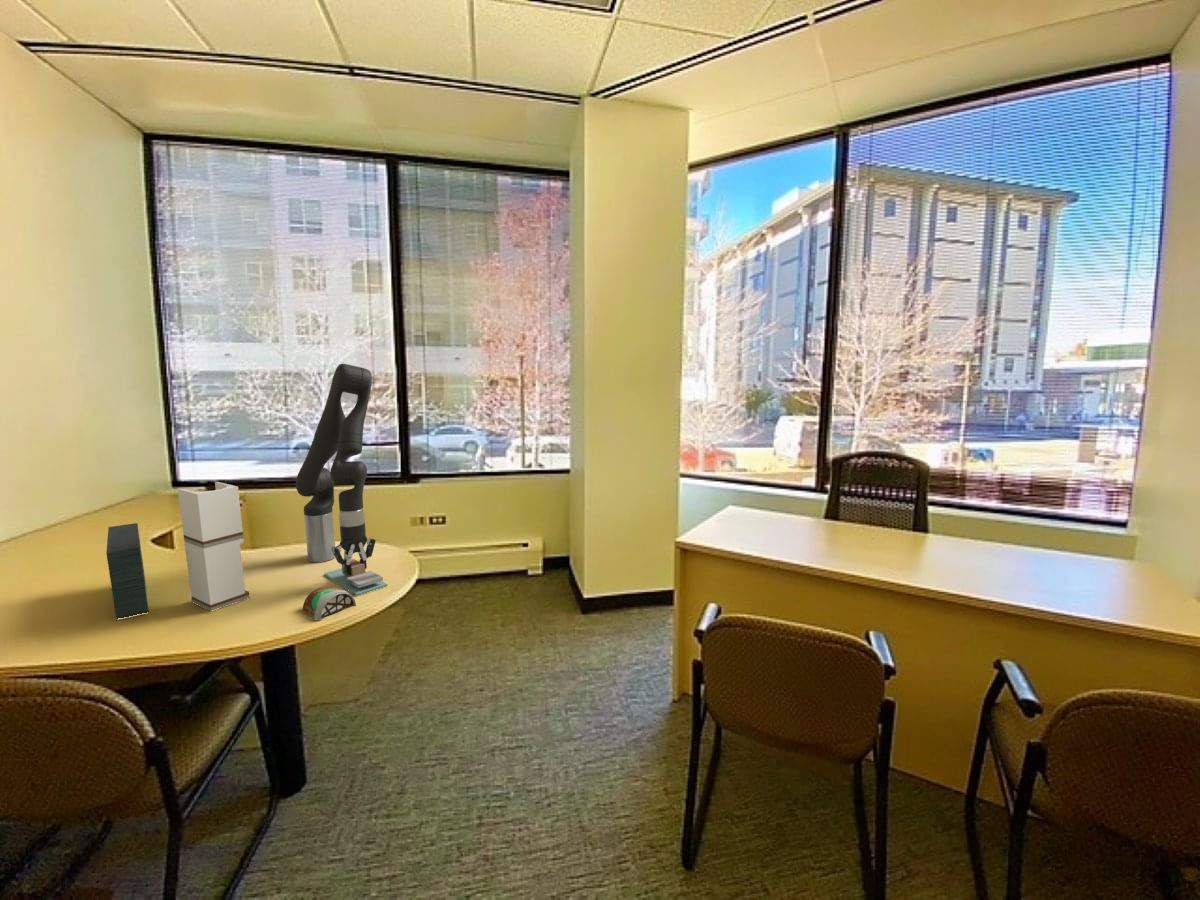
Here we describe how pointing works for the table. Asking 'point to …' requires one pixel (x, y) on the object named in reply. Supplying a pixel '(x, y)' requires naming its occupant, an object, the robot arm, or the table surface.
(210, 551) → the white banded pillar
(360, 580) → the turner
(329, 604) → the food container
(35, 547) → the table surface
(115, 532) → the dark grey upright block
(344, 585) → the mat
